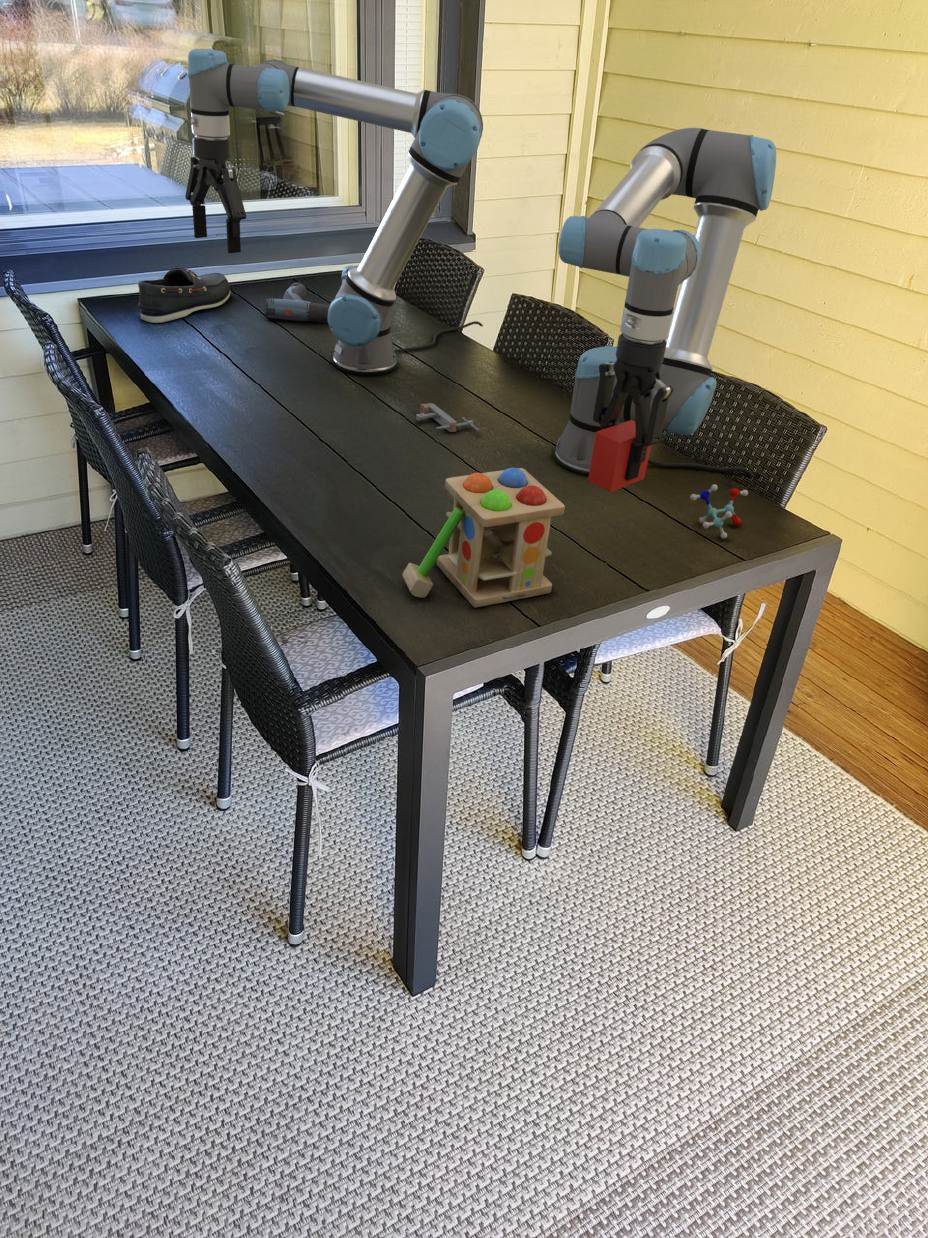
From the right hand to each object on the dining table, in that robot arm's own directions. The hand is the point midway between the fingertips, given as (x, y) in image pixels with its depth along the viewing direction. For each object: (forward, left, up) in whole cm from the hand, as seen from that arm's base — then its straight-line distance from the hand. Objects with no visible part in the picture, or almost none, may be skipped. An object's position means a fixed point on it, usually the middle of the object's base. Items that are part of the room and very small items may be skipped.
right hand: (617, 471), depth 166 cm
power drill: (+37, -130, -14) cm, 136 cm away
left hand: (+61, -87, +14) cm, 108 cm away
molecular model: (-23, -4, -14) cm, 28 cm away
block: (0, 0, -2) cm, 2 cm away
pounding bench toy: (+27, +10, -14) cm, 32 cm away
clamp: (+17, -53, -14) cm, 57 cm away
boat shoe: (+68, -134, -14) cm, 151 cm away
